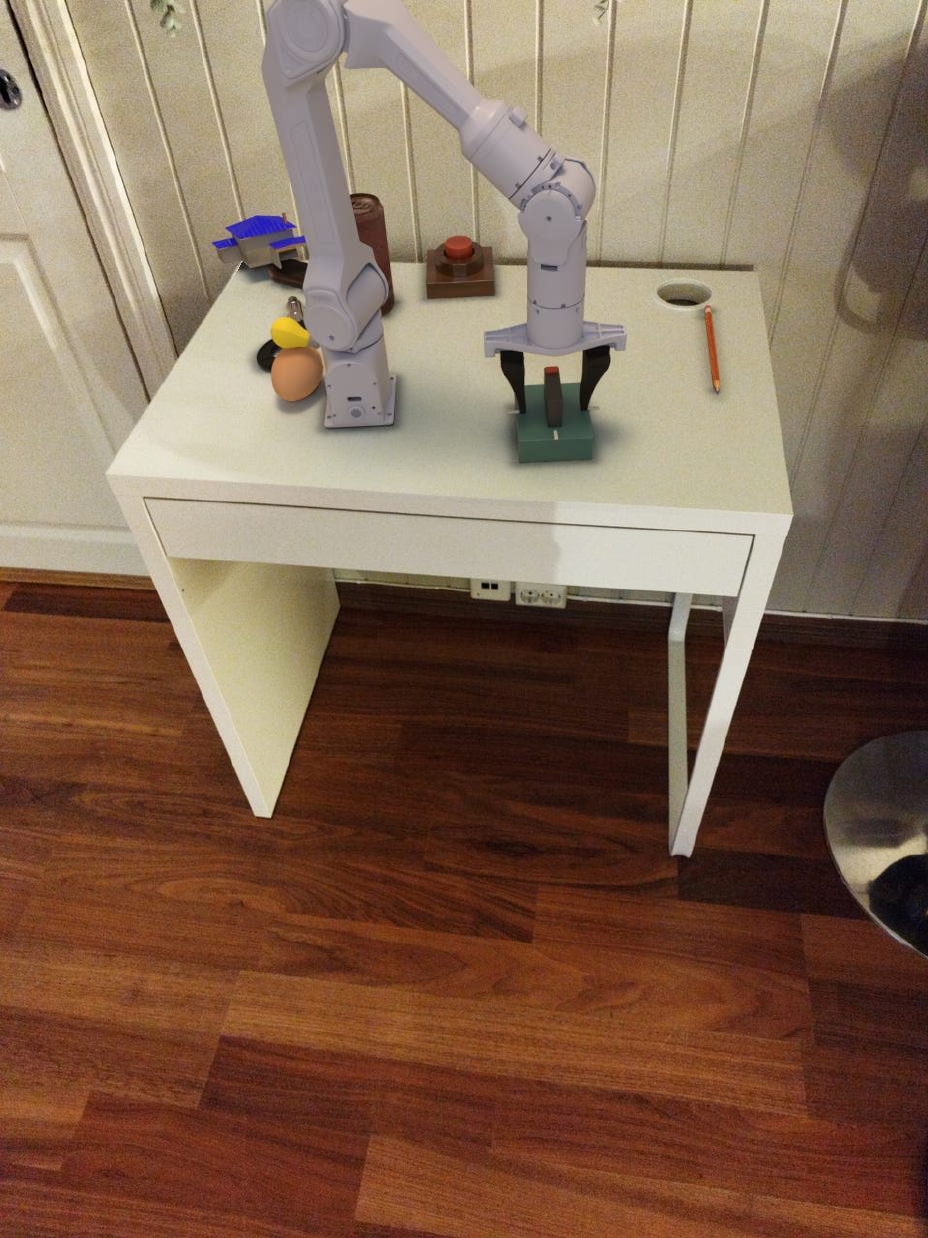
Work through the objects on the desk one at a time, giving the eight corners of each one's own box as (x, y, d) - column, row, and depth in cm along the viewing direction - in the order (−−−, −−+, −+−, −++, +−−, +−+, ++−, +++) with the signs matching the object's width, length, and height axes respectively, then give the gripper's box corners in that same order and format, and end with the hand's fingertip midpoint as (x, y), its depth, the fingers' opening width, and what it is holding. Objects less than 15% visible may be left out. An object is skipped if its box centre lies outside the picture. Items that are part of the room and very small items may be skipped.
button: (472, 260, 124) (472, 247, 123) (445, 261, 124) (444, 249, 123) (472, 246, 127) (471, 234, 125) (445, 248, 127) (444, 235, 125)
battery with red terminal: (562, 426, 102) (563, 398, 99) (547, 427, 102) (547, 398, 99) (557, 393, 105) (558, 364, 103) (543, 394, 106) (544, 365, 103)
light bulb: (271, 341, 110) (277, 310, 109) (320, 356, 111) (327, 326, 109) (264, 345, 107) (271, 314, 106) (315, 361, 108) (322, 331, 106)
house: (236, 279, 124) (225, 234, 121) (215, 258, 135) (204, 217, 132) (317, 260, 127) (308, 216, 124) (289, 241, 138) (281, 201, 135)
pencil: (710, 309, 120) (711, 304, 120) (720, 394, 109) (721, 389, 108) (704, 309, 120) (704, 304, 120) (713, 394, 109) (714, 389, 108)
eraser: (280, 254, 132) (282, 265, 133) (262, 267, 129) (265, 279, 131) (346, 271, 128) (348, 283, 129) (329, 285, 126) (331, 297, 127)
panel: (602, 459, 102) (604, 436, 100) (508, 463, 103) (508, 440, 100) (592, 402, 109) (594, 379, 107) (505, 406, 109) (504, 383, 107)
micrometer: (258, 373, 115) (269, 388, 117) (308, 346, 114) (319, 362, 116) (249, 315, 125) (259, 330, 127) (295, 289, 124) (305, 305, 126)
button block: (494, 295, 125) (493, 267, 122) (427, 298, 126) (424, 270, 122) (492, 260, 131) (491, 233, 128) (428, 264, 131) (425, 236, 128)
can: (342, 299, 126) (325, 196, 116) (388, 289, 127) (375, 186, 117) (352, 322, 123) (336, 218, 112) (399, 312, 124) (387, 208, 113)
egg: (313, 324, 110) (287, 368, 105) (340, 363, 114) (317, 407, 109) (276, 337, 113) (250, 381, 108) (304, 375, 117) (280, 418, 112)
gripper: (624, 268, 95) (614, 381, 106) (481, 276, 96) (485, 388, 106) (633, 306, 91) (622, 420, 101) (483, 314, 91) (487, 427, 101)
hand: (552, 406), depth 103 cm, fingers open, 6 cm apart
